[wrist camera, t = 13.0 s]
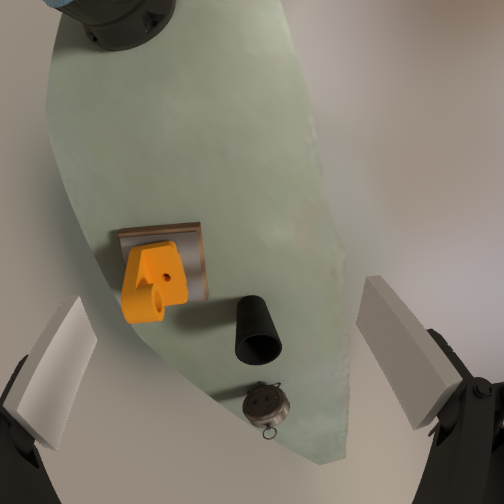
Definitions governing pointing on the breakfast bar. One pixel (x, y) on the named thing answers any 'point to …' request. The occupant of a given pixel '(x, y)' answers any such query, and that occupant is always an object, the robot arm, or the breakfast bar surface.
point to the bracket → (152, 282)
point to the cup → (255, 333)
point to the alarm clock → (266, 407)
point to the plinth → (187, 246)
